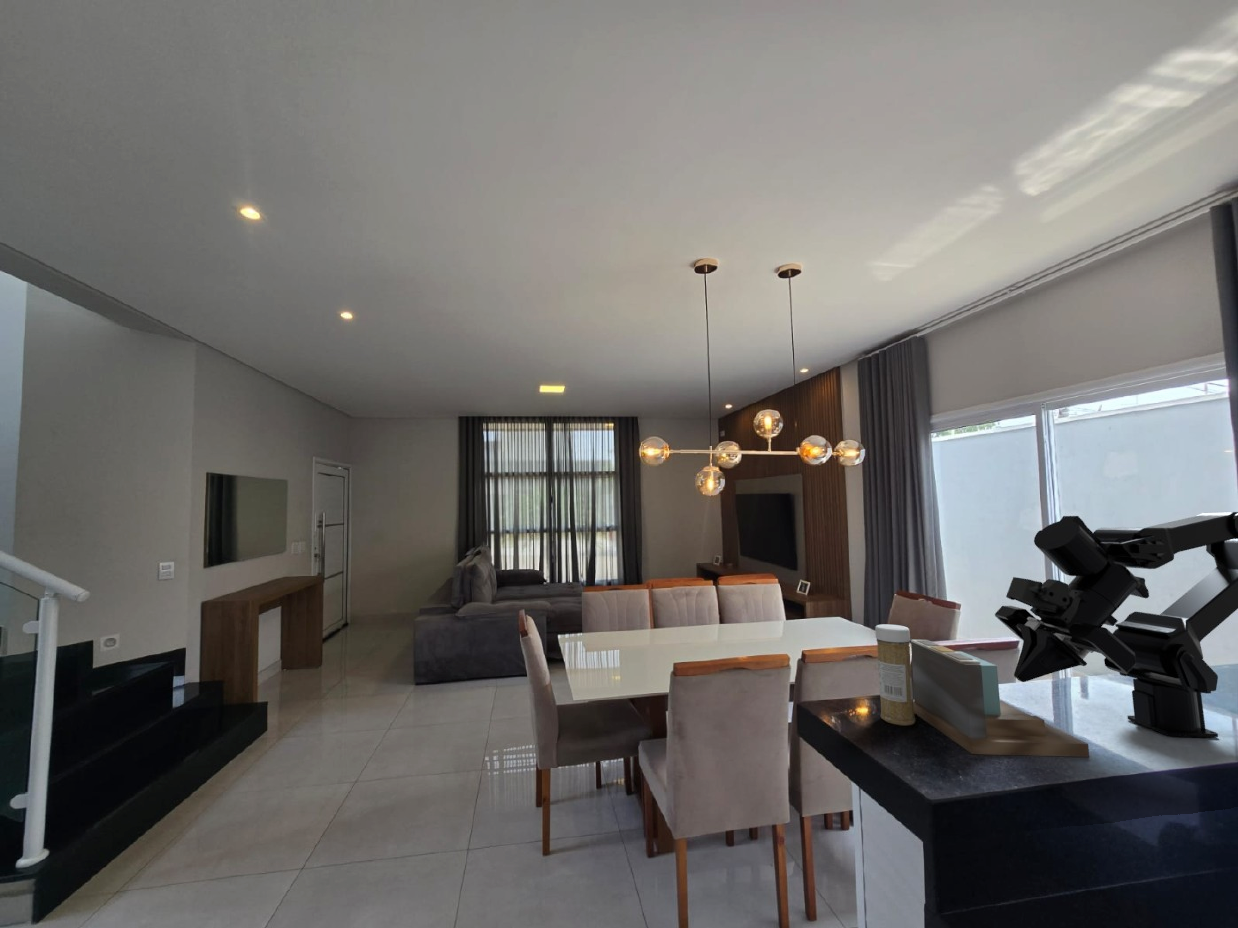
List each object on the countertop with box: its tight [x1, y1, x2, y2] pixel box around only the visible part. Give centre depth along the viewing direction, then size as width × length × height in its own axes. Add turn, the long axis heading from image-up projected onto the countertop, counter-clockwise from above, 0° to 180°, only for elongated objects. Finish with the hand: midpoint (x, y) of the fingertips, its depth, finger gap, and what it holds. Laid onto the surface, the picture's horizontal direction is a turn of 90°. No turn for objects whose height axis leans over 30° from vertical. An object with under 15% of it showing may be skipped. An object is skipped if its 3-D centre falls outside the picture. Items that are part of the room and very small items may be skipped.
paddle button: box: [954, 650, 1001, 715], centre depth 74 cm, size 3×8×8 cm, turn 177°
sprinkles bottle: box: [874, 623, 916, 727], centre depth 77 cm, size 5×5×14 cm
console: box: [910, 639, 1090, 758], centre depth 74 cm, size 14×16×11 cm
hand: (1018, 678), depth 74 cm, fingers closed
